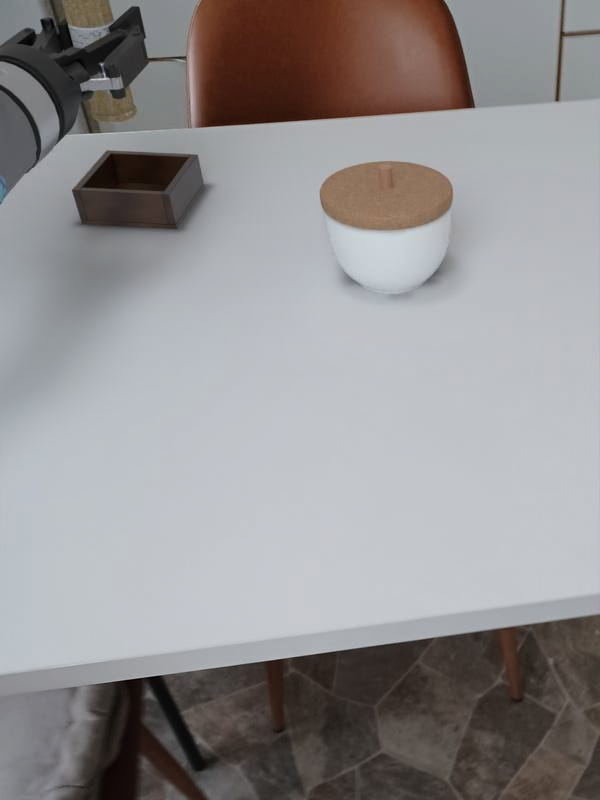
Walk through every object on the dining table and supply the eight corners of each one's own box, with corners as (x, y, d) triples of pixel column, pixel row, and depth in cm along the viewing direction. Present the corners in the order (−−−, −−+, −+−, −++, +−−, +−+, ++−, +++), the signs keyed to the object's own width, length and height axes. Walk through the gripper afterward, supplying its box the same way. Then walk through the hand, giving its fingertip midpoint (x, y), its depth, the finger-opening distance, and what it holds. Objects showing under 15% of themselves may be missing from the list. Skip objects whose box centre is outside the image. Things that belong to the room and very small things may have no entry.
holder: (82, 227, 105) (71, 190, 102) (116, 185, 112) (106, 150, 109) (177, 232, 104) (169, 194, 101) (205, 190, 111) (198, 154, 108)
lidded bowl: (309, 298, 95) (294, 184, 87) (357, 242, 103) (348, 133, 95) (430, 319, 92) (426, 204, 84) (469, 259, 100) (469, 149, 92)
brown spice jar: (111, 105, 99) (71, -51, 89) (147, 112, 98) (110, -46, 88) (82, 120, 97) (37, -39, 87) (119, 128, 95) (77, -33, 85)
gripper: (104, 62, 77) (191, -21, 92) (-103, 53, 78) (17, -27, 93) (129, 159, 83) (207, 66, 98) (-65, 149, 84) (43, 59, 99)
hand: (114, 21), depth 96 cm, fingers closed on brown spice jar, 4 cm apart
